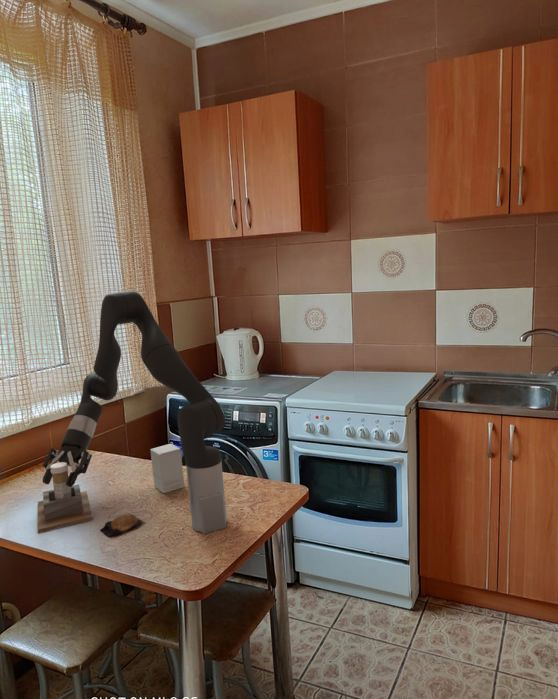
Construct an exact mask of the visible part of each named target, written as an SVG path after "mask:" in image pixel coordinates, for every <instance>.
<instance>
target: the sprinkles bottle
mask: <svg viewBox="0 0 558 699" xmlns="http://www.w3.org/2000/svg"><path fill="white" fill-rule="evenodd" d="M50 468H51V473H52V482H53V483H52V485H53V490H54V493H55V499H56V500H58V499H63V498H68V497H71V489H70V487H68V486H67V485H66V482H67V479H68V477H69V470H68V469H69V466H67V463H66V462H59V461H58V463H55V464H53V465H51V467H50Z"/></svg>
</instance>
